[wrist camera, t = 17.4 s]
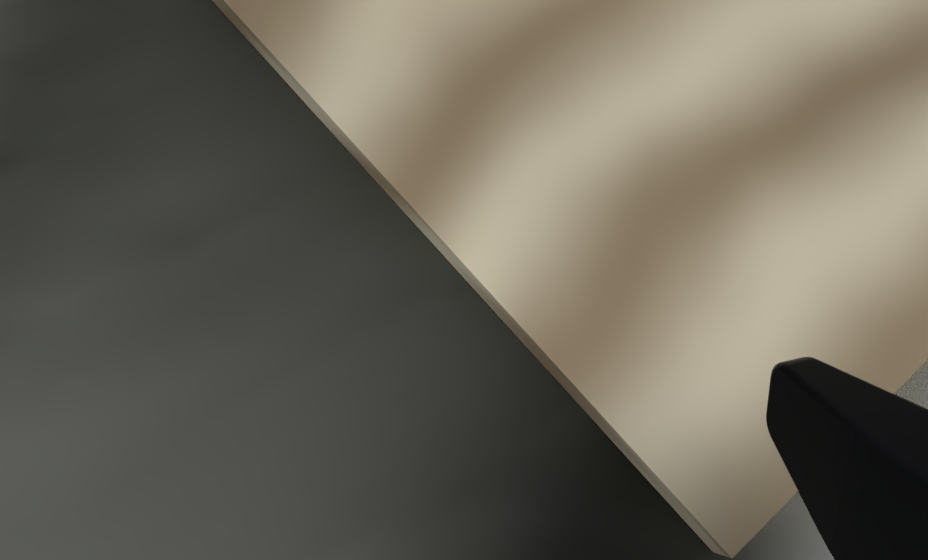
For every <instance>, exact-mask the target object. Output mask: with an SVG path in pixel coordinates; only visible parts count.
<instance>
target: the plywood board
mask: <svg viewBox="0 0 928 560" xmlns="http://www.w3.org/2000/svg"><path fill="white" fill-rule="evenodd" d="M212 1H213V2H214V3H215V5H216V6H217V7H218V8H219V9H220V10H221V11H222V12H223V13H224V14H225V16H226V17H227V18H228V19H229V20H230V21H231V22H232V23H233V24H234V25H235V27H236V28H237V29H238V30H239V31H240V32H241V33H242V34H243V35H244V36H245V38H246V39H247V40H248V41H249V42H250V43H251V44H252V45H253V46H254V47H255V49H256V50H257V51H258V52H259V53H260V54H261V55H262V56H263V57H264V58H265V60H266V61H267V62H268V63H269V64H270V65H271V66H272V67H273V68H274V69H275V71H276V72H277V73H278V74H279V75H280V76H281V77H282V78H283V79H284V81H285V82H286V83H287V84H288V85H289V86H290V87H291V88H292V89H293V90H294V92H295V93H296V94H297V95H298V96H299V97H300V98H301V99H302V100H303V101H304V103H305V104H306V105H307V106H308V107H309V108H310V109H311V110H312V111H313V112H314V114H315V115H316V116H317V117H318V118H319V119H320V120H321V121H322V122H323V123H324V125H325V126H326V127H327V128H328V129H329V130H330V131H331V132H332V133H333V134H334V136H335V137H336V138H337V139H338V140H339V141H340V142H341V143H342V144H343V145H344V147H345V148H346V149H347V150H348V151H349V152H350V153H351V154H352V155H353V156H354V158H355V159H356V160H357V161H358V162H359V163H360V164H361V165H362V166H363V168H364V169H365V170H366V171H367V172H368V173H369V174H370V175H371V176H372V177H373V179H374V180H375V181H376V182H377V183H378V184H379V185H380V186H381V187H382V188H383V190H384V191H385V192H386V193H387V194H388V195H389V196H390V197H391V198H392V199H393V201H394V202H395V203H396V204H397V205H398V206H399V207H400V208H401V209H402V210H403V212H404V213H405V214H406V215H407V216H408V217H409V218H410V219H411V220H412V221H413V223H414V224H415V225H416V226H417V227H418V228H419V229H420V230H421V231H422V232H423V234H424V235H425V236H426V237H427V238H428V239H429V240H430V241H431V242H432V243H433V245H434V246H435V247H436V248H437V249H438V250H439V251H440V252H441V253H442V254H443V256H444V257H445V258H446V259H447V260H448V261H449V262H450V263H451V264H452V266H453V267H454V268H455V269H456V270H457V271H458V272H459V273H460V274H461V275H462V277H463V278H464V279H465V280H466V281H467V282H468V283H469V284H470V285H471V286H472V288H473V289H474V290H475V291H476V292H477V293H478V294H479V295H480V296H481V297H482V299H483V300H484V301H485V302H486V303H487V304H488V305H489V306H490V307H491V308H492V310H493V311H494V312H495V313H496V314H497V315H498V316H499V317H500V318H501V319H502V321H503V322H504V323H505V324H506V325H507V326H508V327H509V328H510V329H511V330H512V332H513V333H514V334H515V335H516V336H517V337H518V338H519V339H520V340H521V341H522V343H523V344H524V345H525V346H526V347H527V348H528V349H529V350H530V351H531V353H532V354H533V355H534V356H535V357H536V358H537V359H538V360H539V361H540V362H541V364H542V365H543V366H544V367H545V368H546V369H547V370H548V371H549V372H550V373H551V375H552V376H553V377H554V378H555V379H556V380H557V381H558V382H559V383H560V384H561V386H562V387H563V388H564V389H565V390H566V391H567V392H568V393H569V394H570V395H571V397H572V398H573V399H574V400H575V401H576V402H577V403H578V404H579V405H580V406H581V408H582V409H583V410H584V411H585V412H586V413H587V414H588V415H589V416H590V417H591V419H592V420H593V421H594V422H595V423H596V424H597V425H598V426H599V427H600V428H601V430H602V431H603V432H604V433H605V434H606V435H607V436H608V437H609V438H610V440H611V441H612V442H613V443H614V444H615V445H616V446H617V447H618V448H619V449H620V451H621V452H622V453H623V454H624V455H625V456H626V457H627V458H628V459H629V460H630V462H631V463H632V464H633V465H634V466H635V467H636V468H637V469H638V470H639V471H640V473H641V474H642V475H643V476H644V477H645V478H646V479H647V480H648V481H649V482H650V484H651V485H652V486H653V487H654V488H655V489H656V490H657V491H658V492H659V493H660V495H661V496H662V497H663V498H664V499H665V500H666V501H667V502H668V503H669V504H670V506H671V507H672V508H673V509H674V510H675V511H676V512H677V513H678V514H679V515H680V517H681V518H682V519H683V520H684V521H685V522H686V523H687V524H688V525H689V527H690V528H691V529H692V530H693V531H694V532H695V533H696V534H697V535H698V536H699V538H700V539H701V540H702V541H703V542H704V543H705V544H706V545H707V546H708V547H709V549H710V550H711V551H712V552H714V553H717V554H720V555H723V556H726V557H729V558H733V557H734V556H735V555H736V554H737V553H738V552H739V551H740V550H741V549H742V548H743V547H744V546H745V545H746V544H747V543H748V542H749V541H750V540H751V539H752V538H753V537H754V536H755V535H756V534H757V533H758V532H759V531H760V530H761V529H762V528H763V527H764V526H765V525H766V524H767V523H768V522H769V521H770V520H771V519H772V518H773V517H774V516H775V515H776V513H777V512H778V511H779V510H780V509H781V508H782V507H783V506H784V505H785V504H786V503H787V502H788V501H789V500H790V499H791V498H792V497H793V496H794V495H795V494H796V493H797V492H798V489H797V488H796V486H795V484H794V482H793V480H792V478H791V476H790V474H789V472H788V470H787V468H786V466H785V464H784V462H783V460H782V458H781V456H780V454H779V452H778V450H777V448H776V446H775V444H774V442H773V440H772V438H771V436H770V434H769V431H768V427H767V422H766V411H767V403H768V395H769V386H770V378H771V372H772V369H773V368H774V366H775V365H776V364H778V363H780V362H783V361H788V360H792V359H797V358H801V357H812V358H815V359H818V360H820V361H822V362H824V363H827V364H829V365H831V366H833V367H835V368H838V369H840V370H842V371H844V372H847V373H849V374H851V375H853V376H855V377H858V378H860V379H862V380H864V381H866V382H869V383H871V384H873V385H875V386H877V387H880V388H882V389H884V390H886V391H888V392H891V393H893V394H894V393H895V392H896V391H897V390H898V389H899V388H900V387H901V386H902V385H903V384H904V383H905V382H906V381H907V380H908V379H909V378H910V377H911V376H912V375H913V374H914V373H915V372H916V371H917V370H918V369H919V368H920V367H921V366H922V365H923V364H924V363H925V362H926V361H927V360H928V0H212Z"/></svg>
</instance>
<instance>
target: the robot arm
mask: <svg viewBox="0 0 928 560" xmlns="http://www.w3.org/2000/svg"><path fill="white" fill-rule="evenodd" d="M766 422H767V427H768V431H769V434H770V436H771V438H772V440H773V442H774V444H775V446H776V448H777V450H778V452H779V454H780V456H781V458H782V460H783V462H784V464H785V466H786V468H787V470H788V472H789V474H790V476H791V478H792V480H793V482H794V484H795V486H796V488H797V489H798V491H799V493H800V495H801V497H802V499H803V501H804V503H805V505H806V507H807V509H808V511H809V513H810V515H811V517H812V519H813V521H814V523H815V525H816V527H817V529H818V531H819V533H820V534H821V536H822V538H823V540H824V542H825V544H826V545H827V547H828V549H829V551H830V553H831V554H832V556H833V557H834V559H835V560H928V409H926V408H924V407H921V406H919V405H917V404H915V403H913V402H910V401H908V400H906V399H904V398H902V397H899V396H897V395H895V394H893V393H891V392H888V391H886V390H884V389H882V388H880V387H877V386H875V385H873V384H871V383H869V382H866V381H864V380H862V379H860V378H858V377H855V376H853V375H851V374H849V373H847V372H844V371H842V370H840V369H838V368H835V367H833V366H831V365H829V364H827V363H824V362H822V361H820V360H818V359H815V358H812V357H801V358H797V359H792V360H788V361H783V362H780V363H778V364H776V365H775V366H774V368H773V369H772V372H771V378H770V386H769V395H768V403H767V411H766Z"/></svg>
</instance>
